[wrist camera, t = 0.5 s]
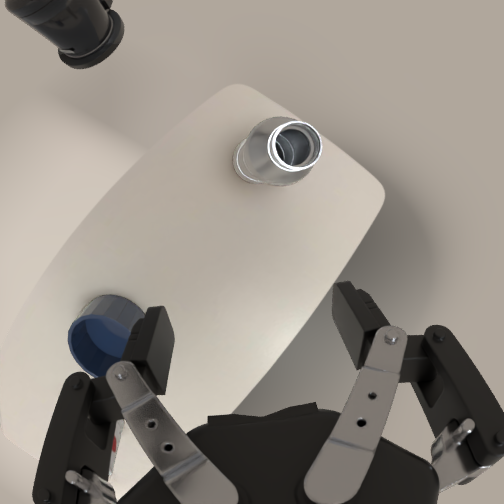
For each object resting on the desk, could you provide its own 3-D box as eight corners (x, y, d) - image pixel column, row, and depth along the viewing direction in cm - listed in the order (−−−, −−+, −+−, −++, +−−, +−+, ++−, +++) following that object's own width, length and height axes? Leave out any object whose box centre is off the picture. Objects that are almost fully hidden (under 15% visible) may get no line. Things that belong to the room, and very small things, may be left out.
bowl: (78, 291, 39) (60, 310, 32) (149, 297, 41) (139, 318, 34) (91, 354, 42) (78, 377, 35) (155, 361, 44) (149, 388, 37)
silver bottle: (223, 149, 37) (234, 122, 18) (267, 130, 37) (319, 90, 18) (243, 191, 39) (274, 206, 20) (286, 171, 39) (354, 169, 20)
